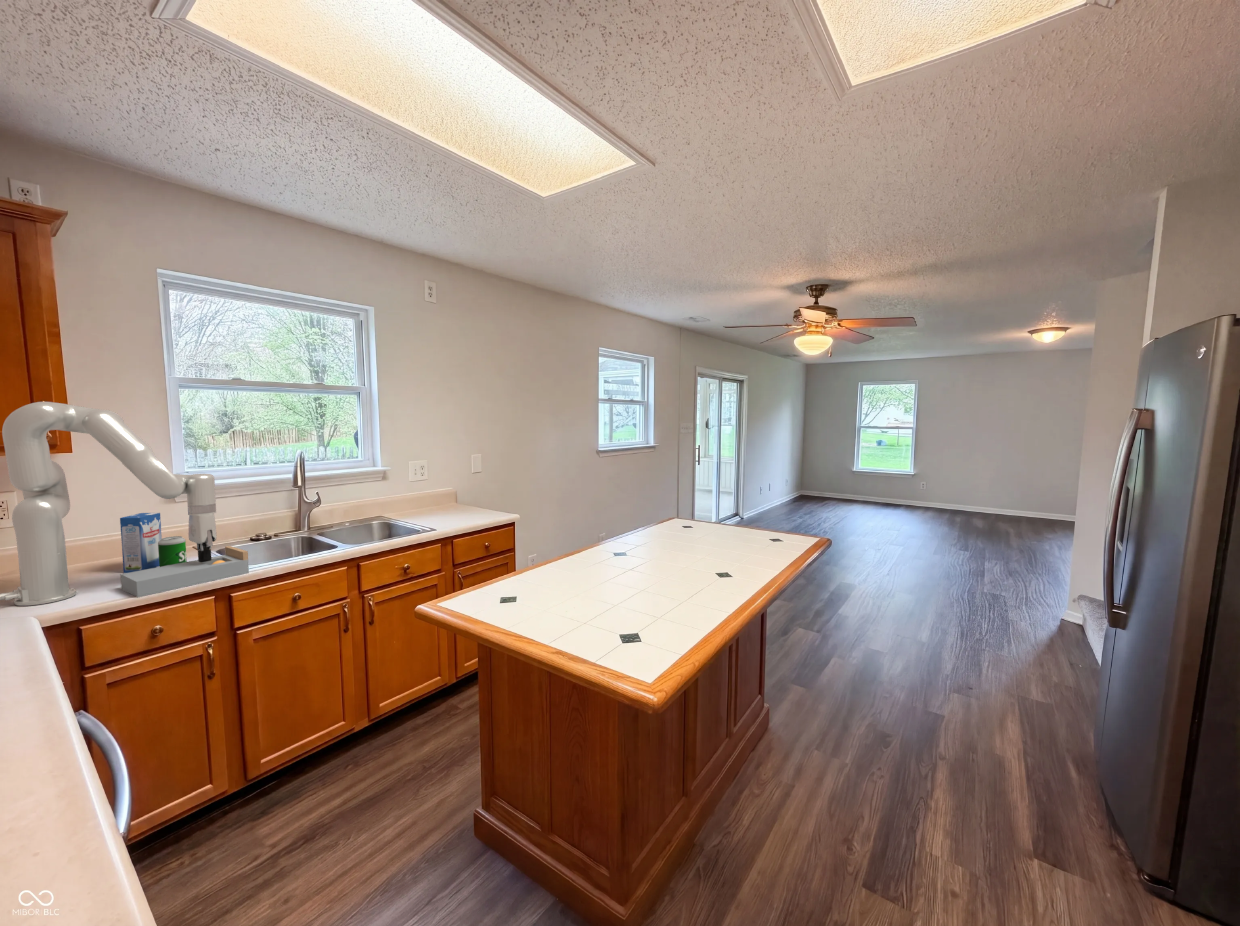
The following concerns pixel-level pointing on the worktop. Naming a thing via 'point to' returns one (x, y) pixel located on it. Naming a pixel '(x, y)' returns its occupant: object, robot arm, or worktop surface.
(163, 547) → the soda can
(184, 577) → the grey long boxy piece
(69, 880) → the worktop surface
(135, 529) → the milk carton
